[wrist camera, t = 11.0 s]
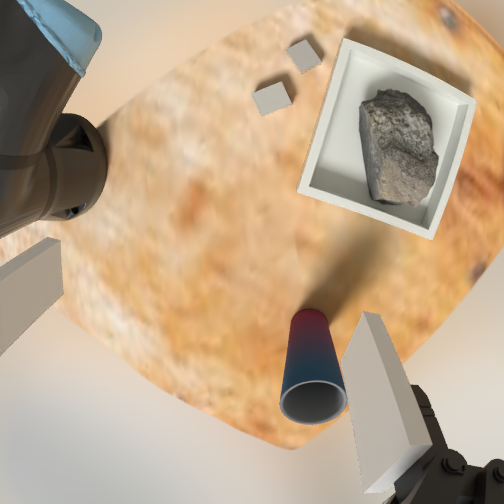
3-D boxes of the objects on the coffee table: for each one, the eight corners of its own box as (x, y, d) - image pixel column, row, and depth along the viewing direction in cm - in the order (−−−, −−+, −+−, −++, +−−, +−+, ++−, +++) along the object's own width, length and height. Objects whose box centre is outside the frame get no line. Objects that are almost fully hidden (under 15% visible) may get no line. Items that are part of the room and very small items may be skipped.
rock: (350, 93, 32) (365, 85, 25) (419, 89, 30) (443, 82, 24) (368, 208, 36) (385, 223, 30) (433, 198, 35) (458, 211, 29)
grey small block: (262, 117, 35) (261, 116, 33) (252, 95, 34) (250, 93, 32) (291, 105, 34) (291, 103, 32) (281, 84, 33) (281, 81, 31)
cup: (330, 298, 41) (345, 374, 27) (336, 339, 44) (349, 419, 30) (279, 307, 43) (273, 385, 29) (288, 347, 45) (285, 428, 31)
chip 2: (286, 53, 32) (285, 49, 30) (305, 43, 31) (305, 39, 29) (301, 75, 33) (301, 72, 31) (320, 65, 32) (321, 61, 30)
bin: (296, 187, 37) (297, 192, 34) (339, 45, 30) (343, 37, 27) (421, 231, 37) (432, 240, 34) (463, 102, 30) (476, 100, 27)
